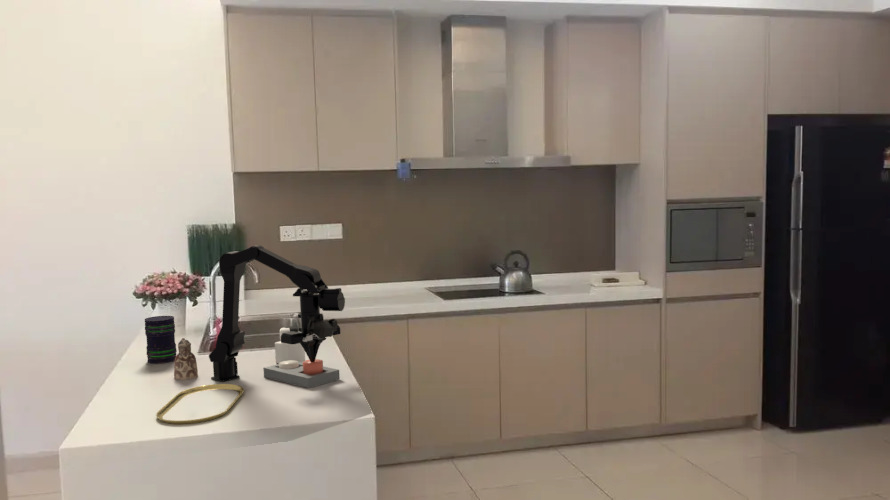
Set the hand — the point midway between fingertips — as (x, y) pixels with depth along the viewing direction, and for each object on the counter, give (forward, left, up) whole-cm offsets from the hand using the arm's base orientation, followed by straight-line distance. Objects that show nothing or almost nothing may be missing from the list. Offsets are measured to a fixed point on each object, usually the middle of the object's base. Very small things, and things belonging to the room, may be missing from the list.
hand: (312, 361), depth 236 cm
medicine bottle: (+11, +26, -6) cm, 29 cm away
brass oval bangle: (-34, +6, -7) cm, 35 cm away
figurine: (-20, +39, -6) cm, 44 cm away
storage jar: (-13, +67, -6) cm, 68 cm away
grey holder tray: (0, +6, -6) cm, 8 cm away
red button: (0, 0, -4) cm, 4 cm away
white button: (0, +12, -6) cm, 13 cm away
